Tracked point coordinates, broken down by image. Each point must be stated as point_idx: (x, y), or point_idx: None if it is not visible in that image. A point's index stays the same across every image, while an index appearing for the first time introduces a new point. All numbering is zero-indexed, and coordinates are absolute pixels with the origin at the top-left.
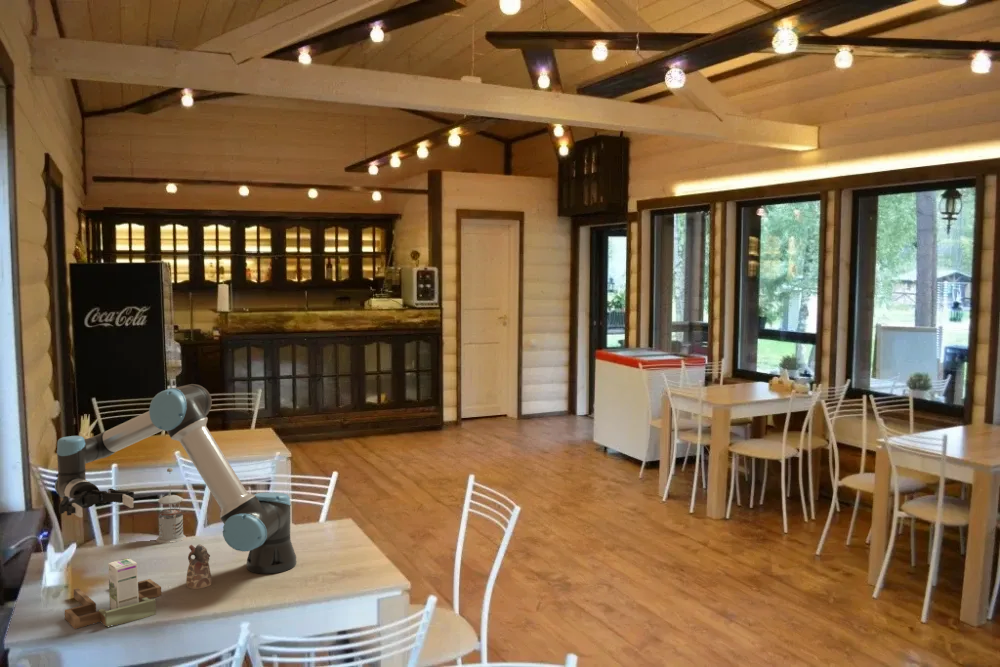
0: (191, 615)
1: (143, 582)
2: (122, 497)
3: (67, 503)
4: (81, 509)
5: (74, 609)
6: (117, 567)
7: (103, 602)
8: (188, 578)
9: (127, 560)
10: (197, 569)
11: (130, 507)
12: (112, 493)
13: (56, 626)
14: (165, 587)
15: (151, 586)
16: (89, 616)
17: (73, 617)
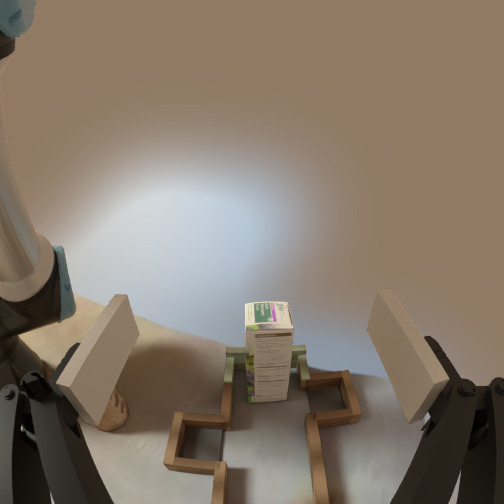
0: (196, 336)
1: (183, 458)
2: (80, 400)
3: (476, 400)
4: (378, 297)
5: (345, 409)
6: (284, 302)
7: (278, 460)
8: (121, 404)
9: (255, 318)
10: None
11: (137, 335)
12: (66, 487)
13: (370, 401)
14: (150, 447)
15: (179, 439)
16: (325, 373)
17: (349, 377)
